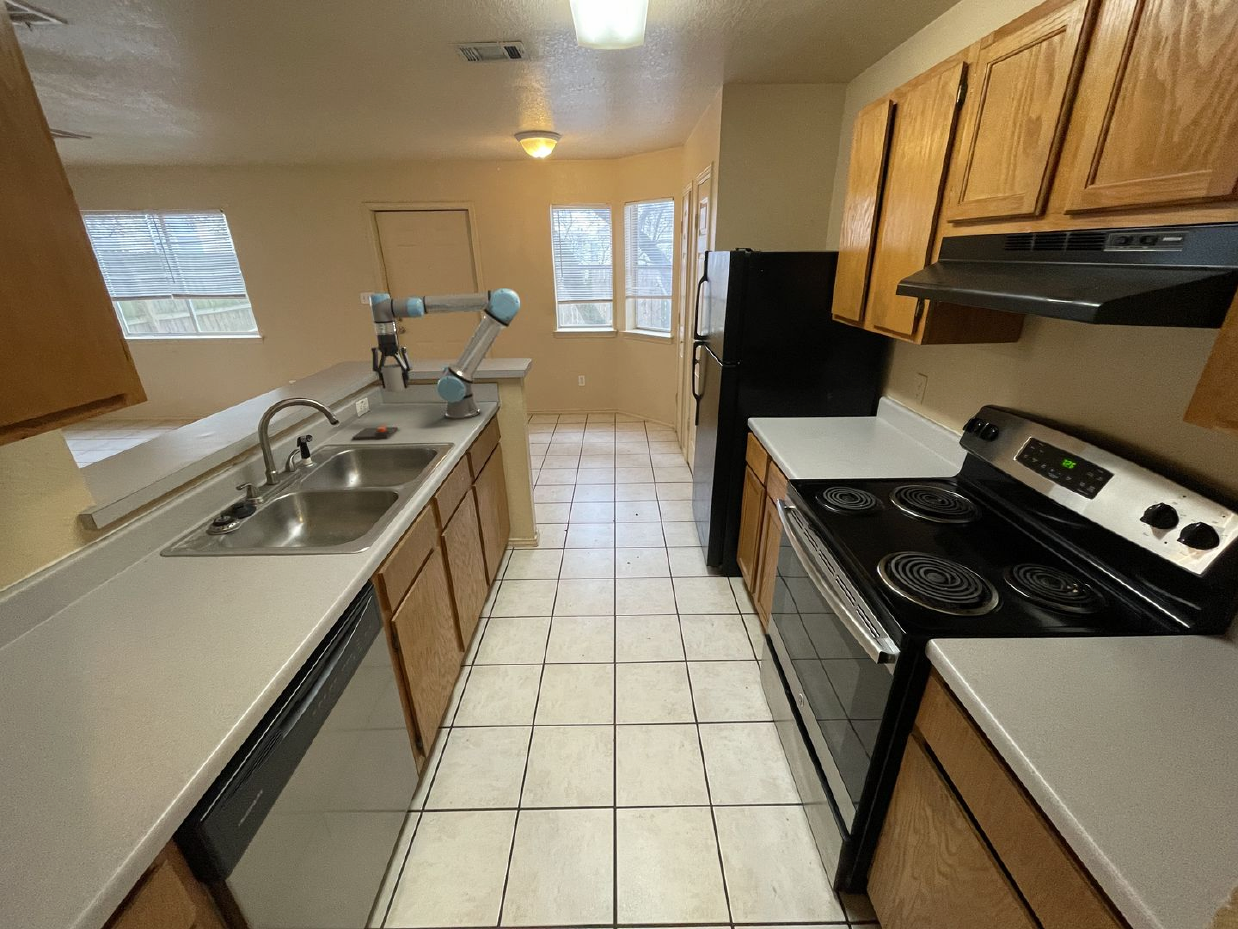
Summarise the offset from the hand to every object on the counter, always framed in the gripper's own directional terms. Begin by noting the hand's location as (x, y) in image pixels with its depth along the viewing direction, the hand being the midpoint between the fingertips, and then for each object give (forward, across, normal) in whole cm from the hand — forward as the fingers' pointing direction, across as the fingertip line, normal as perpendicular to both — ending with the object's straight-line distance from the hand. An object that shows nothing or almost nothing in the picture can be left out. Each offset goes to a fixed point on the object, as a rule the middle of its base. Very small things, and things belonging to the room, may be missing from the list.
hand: (396, 387), depth 216 cm
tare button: (+15, -3, -14) cm, 21 cm away
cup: (+1, 0, 0) cm, 1 cm away
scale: (+18, -8, -10) cm, 22 cm away
